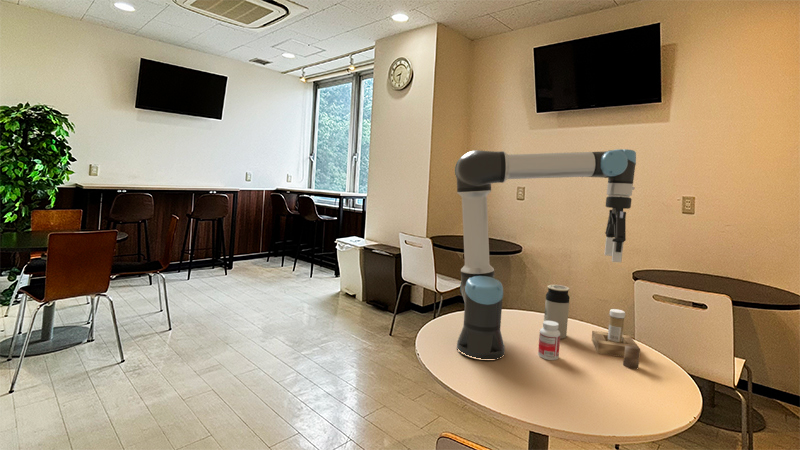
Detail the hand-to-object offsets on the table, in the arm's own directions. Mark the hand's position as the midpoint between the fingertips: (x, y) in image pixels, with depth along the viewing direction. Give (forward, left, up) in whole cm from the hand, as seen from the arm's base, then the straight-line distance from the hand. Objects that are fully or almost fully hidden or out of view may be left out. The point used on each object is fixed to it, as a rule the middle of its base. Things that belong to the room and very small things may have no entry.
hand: (612, 258), depth 137 cm
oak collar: (+2, -3, -30) cm, 31 cm away
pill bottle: (-20, -18, -31) cm, 41 cm away
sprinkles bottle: (+2, -4, -31) cm, 31 cm away
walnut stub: (+4, -16, -30) cm, 35 cm away
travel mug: (-16, +3, -31) cm, 35 cm away
